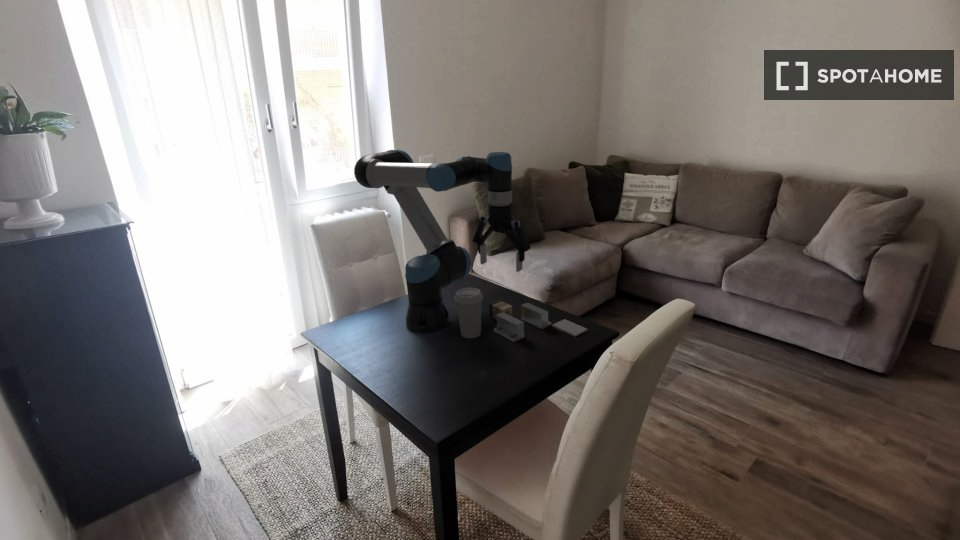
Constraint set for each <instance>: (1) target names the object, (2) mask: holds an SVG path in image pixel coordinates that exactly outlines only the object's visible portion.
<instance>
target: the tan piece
mask: <svg viewBox="0 0 960 540" xmlns="http://www.w3.org/2000/svg"><path fill="white" fill-rule="evenodd" d="M488 307H489V318H491V319H494V320H496V321H497V316H496V315H498V314H500V313H503V312H504V313H506V314H508V315H510V316H512V317H514V318H515V313H514V312H513V305H511V304H509V303H506V302H505V301H503V300H501V299H497V300H495V301H493V302H490V303H488Z"/></svg>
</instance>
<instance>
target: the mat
mask: <svg viewBox="0 0 960 540" xmlns="http://www.w3.org/2000/svg"><path fill="white" fill-rule="evenodd" d="M551 326H552V327H553V328H555V329H557V330H560V331H562V332H564V333H565V334H568V335H570V336H573V337H575V338H576V337H577V336H579V335H581V334H583V333H586V332H588V328H586V327H584V326H582V325H579V324H576V323H575V322H572V321H570V320H567V319H565V318H564V319H562V320H559V321H557V322H554V323H553V324H551Z"/></svg>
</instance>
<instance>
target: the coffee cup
mask: <svg viewBox="0 0 960 540" xmlns="http://www.w3.org/2000/svg"><path fill="white" fill-rule="evenodd" d="M483 299H484V295H483V293H482V292H481V290H480V289H479V288H476V287H463V288H459V289H458V290H457V291H455V294H454V297H453V301H454V302H455V305H456V306H455V307H456V311H457V317H458V324H459V329H460V330H459V331H460V335H461V337H463V339H475V338H478V337H479V336H480V335H481V334H482V308H483V307H482V306H483V305H482V304H483V303H482V301H483Z"/></svg>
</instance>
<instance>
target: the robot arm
mask: <svg viewBox="0 0 960 540" xmlns="http://www.w3.org/2000/svg"><path fill="white" fill-rule="evenodd" d="M512 162H513V161H512V155H511V154H510V153H509V152H505V151H492V152H490V153H488V154H487V155H486V158H484V157H476V156H475V157H474V156H470V155H468V156H459V157H458V158H457V159H456V160H455V161H452V162H446V163H442V162H441V163H439V162H438V163H437V162H436V163H434V162H428V163H427V162H421V163H420V162H414V161H413V158H412V157H411V156H410V155H409V154H408V153H407V152H406V151H404V150H401V149H389V150H386V151H381V152H376V153H369V154H365V155H362V156H361V157H360V158H359V159H358V160H357V161H356V163H355V165H354V170H353V173H354V177H355V179H356V181H357V183H358V184H359V185H361V186H362V187H364V188H368V189H381V188H384V190H385V191H386V193H387V194H389V195H391V196H394V198H395V200H396V202H397V203H398V205H399V207H400V208H401V210H402V212H403V214H404V216H406V218H407V220H408V222H409V223H410V226H411V227H412V228H413V231H415V233H416V235H417V236H418V238H419V240H420V242H421V243H422V245H423V246H424V249H425V251H426V254H422V255H417V256H414V257H412V258H411V259H409V260H408V261H407V262H406V264H405V267H404V269H405V271H404V272H405V274H404V275H405V276H404V277H405V283H406V290H407V296H408V297H407V298H408V299H407V300H408V307H407V310H406V317H405V325H406V327H407V329H408V330H409V331H412V332H416V333H430V332H433V333H434V332H437V331H440V330H442V329H444V328H446V327H447V326H448V325H449V323H450V314H449V311H448V310H447V307H446V305H445V303H444V300H443V290H444V289H445V288H447V287H449V286H451V285H453V284H455V283H457V282H459V281H460V282H461V280H463V279H464V278H465V277H467V276H468V275H469V274H470V272H471V270H472V267H471V266H472V259H471V256H470V253H469V251H468V250H467V249H466V248H464V247H462V246H460V245H457V244H456V243H455V240H453V239H449V238H448V237H447V236H446V234H445V233H444V231H443V229H442V227H441V226H440V225H439V222H438V221H437V219H436V218H435V216H434V215H433V212H432V211H431V209H430V208H429V206H428V203H427V202H426V201H425V199H424V197H423V196H422V194H421V193H420V191H419V189H418V188H423V189H424V188H425V189H430V190H433V191H434V192H437V193H439V192H447V191H449V190H452V189H455V188H458V187H461V186H466V185H468V184H471V183H482V184H487V203H488V205H487V211H488V215H486V214H484V215H482V216H480V217H479V218H480V219H479V224H478V226H477V229H476V231H475V233H474V236H473V238H472V242H473V243H476V244H477V252H478V254H479V256H480V261H479V263H480V265H484V264H486V263H487V262H488V258H487V257H488V256H487V253H488V252H487V243H486V242H487V240H488V239H489V237H490V236H491V235H492V234H493V233H500V234H505V236H506V237H508V239H510V241H511V242H512V245H513V246H514V247H515V249H516V250H517V251H516V252H515V254H516V255H515V262H516V263H515V265H516V266H515V267H516V268H515V270H516V272H518V273H519V272H520V271H522V270H523V262H524V261H525V257H526V256H525V253H526V252H528V251H529V250H531V245H530V243H529V241H528V238H527V236H526V233H525V231H524V229H523V227H522V225H523V224H522V221H521V219H517V220H513V204H512V203H513V188H512V187H513V186H512V182H513V180H512V179H513V178H512V177H513V176H512V175H513V165H512ZM487 223H488V224H489V227H488V228H487V230H486V231H485V228H486V226H487ZM484 231H485V232H484ZM483 233H484V234H483Z"/></svg>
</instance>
